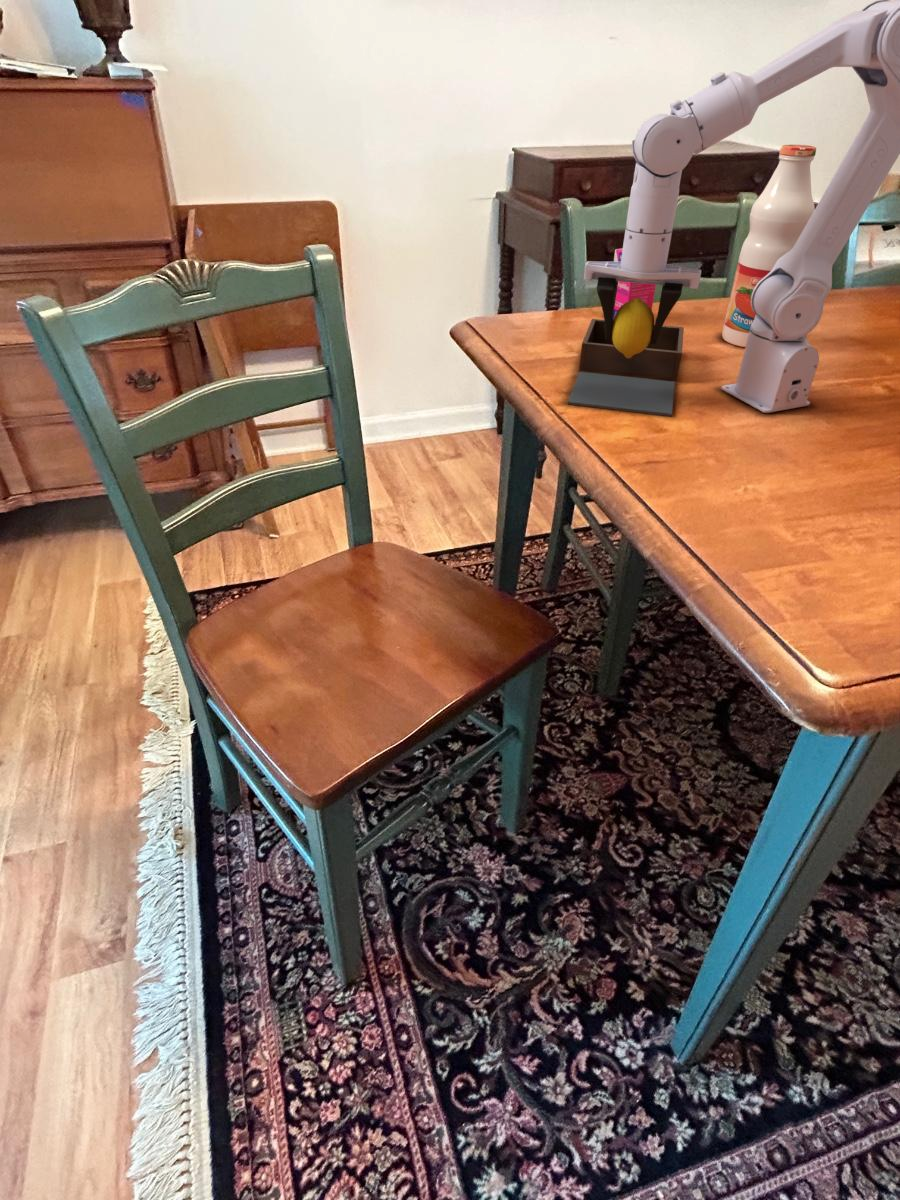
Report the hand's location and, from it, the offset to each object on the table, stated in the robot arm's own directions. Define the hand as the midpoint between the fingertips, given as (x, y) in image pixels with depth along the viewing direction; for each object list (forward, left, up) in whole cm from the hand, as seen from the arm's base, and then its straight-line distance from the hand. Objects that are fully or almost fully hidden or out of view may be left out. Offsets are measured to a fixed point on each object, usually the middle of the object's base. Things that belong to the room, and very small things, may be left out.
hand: (631, 339), depth 101 cm
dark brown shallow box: (+10, -8, -8) cm, 15 cm away
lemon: (0, 0, -3) cm, 3 cm away
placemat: (0, 0, -8) cm, 8 cm away
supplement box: (+29, -20, -8) cm, 36 cm away
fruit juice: (+12, -33, -8) cm, 36 cm away
